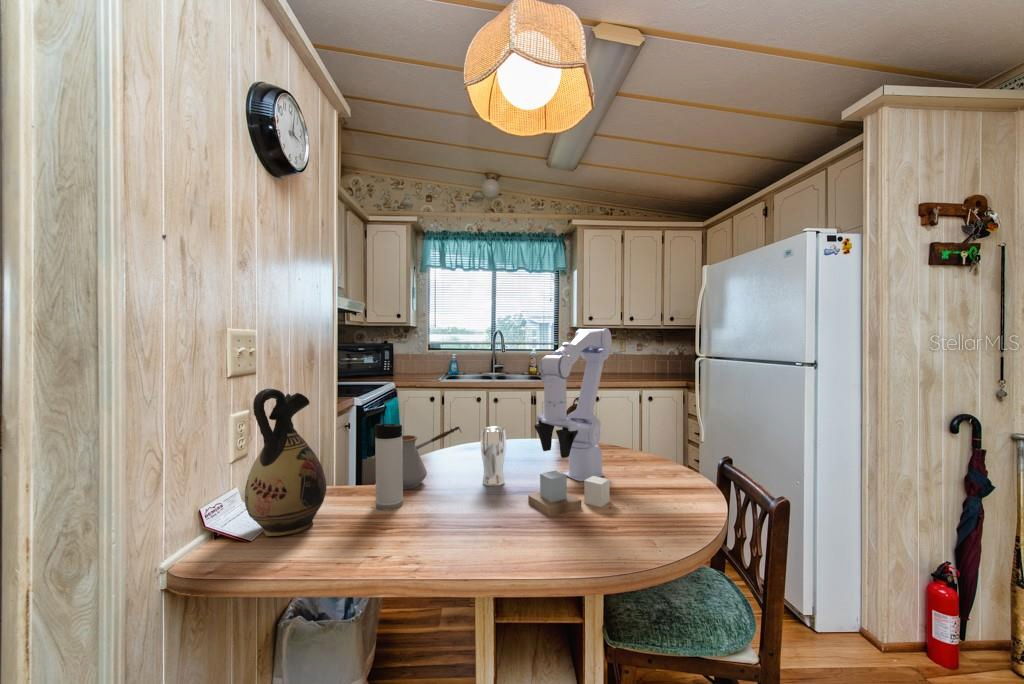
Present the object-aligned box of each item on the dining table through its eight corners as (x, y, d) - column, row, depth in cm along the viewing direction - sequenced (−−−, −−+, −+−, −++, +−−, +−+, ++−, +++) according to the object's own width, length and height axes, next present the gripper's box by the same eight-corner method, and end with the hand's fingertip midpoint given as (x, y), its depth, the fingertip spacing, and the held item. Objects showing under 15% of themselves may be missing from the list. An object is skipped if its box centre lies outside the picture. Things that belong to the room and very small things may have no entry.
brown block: (558, 498, 109) (558, 488, 109) (581, 510, 101) (581, 499, 101) (528, 505, 105) (528, 495, 105) (549, 519, 97) (549, 507, 97)
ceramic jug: (291, 508, 102) (290, 382, 102) (342, 518, 96) (340, 384, 96) (219, 540, 87) (217, 391, 86) (274, 554, 81) (271, 394, 80)
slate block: (555, 492, 106) (555, 470, 106) (566, 498, 102) (566, 475, 102) (540, 496, 104) (540, 473, 103) (551, 502, 100) (550, 479, 100)
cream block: (592, 497, 108) (592, 475, 108) (609, 501, 105) (609, 479, 105) (584, 503, 104) (584, 480, 104) (601, 507, 102) (601, 484, 102)
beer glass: (505, 487, 116) (505, 431, 116) (479, 487, 116) (479, 431, 116) (506, 478, 123) (506, 426, 123) (482, 478, 123) (481, 426, 123)
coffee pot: (384, 494, 111) (383, 436, 111) (383, 480, 122) (383, 427, 122) (465, 485, 118) (465, 430, 117) (458, 472, 129) (458, 422, 128)
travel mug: (369, 508, 102) (368, 423, 102) (389, 498, 108) (388, 419, 108) (389, 512, 99) (388, 426, 99) (408, 502, 105) (407, 421, 105)
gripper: (526, 399, 116) (527, 449, 116) (561, 406, 103) (561, 463, 104) (547, 397, 119) (548, 446, 120) (583, 404, 107) (583, 458, 107)
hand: (555, 453), depth 112 cm, fingers open, 7 cm apart
